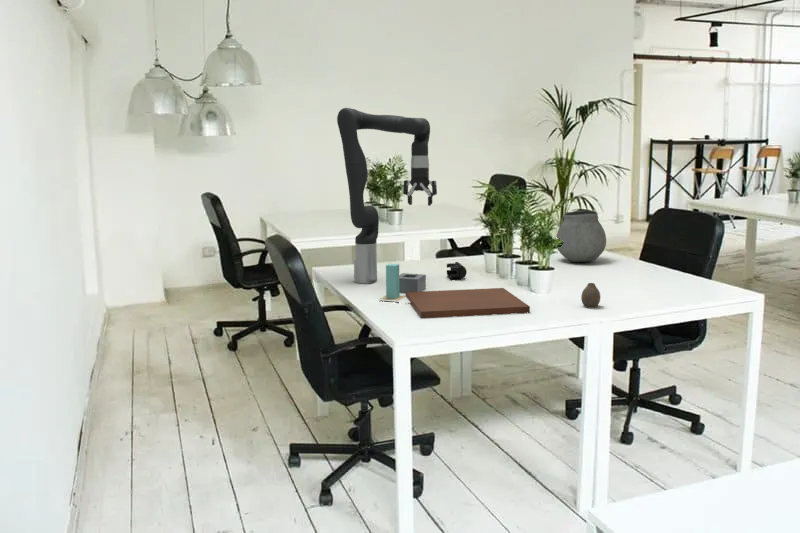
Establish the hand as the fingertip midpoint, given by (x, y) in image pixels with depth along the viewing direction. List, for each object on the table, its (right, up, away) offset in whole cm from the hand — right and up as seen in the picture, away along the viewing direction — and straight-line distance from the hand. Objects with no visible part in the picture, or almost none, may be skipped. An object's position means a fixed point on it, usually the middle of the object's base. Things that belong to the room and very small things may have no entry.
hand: (420, 205), depth 318 cm
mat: (-11, -39, -23) cm, 47 cm away
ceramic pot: (+81, -24, +55) cm, 101 cm away
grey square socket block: (-4, -37, -11) cm, 39 cm away
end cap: (+17, -32, +18) cm, 40 cm away
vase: (+63, -41, -37) cm, 84 cm away
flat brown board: (+16, -41, -32) cm, 55 cm away
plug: (-11, -38, -23) cm, 46 cm away
